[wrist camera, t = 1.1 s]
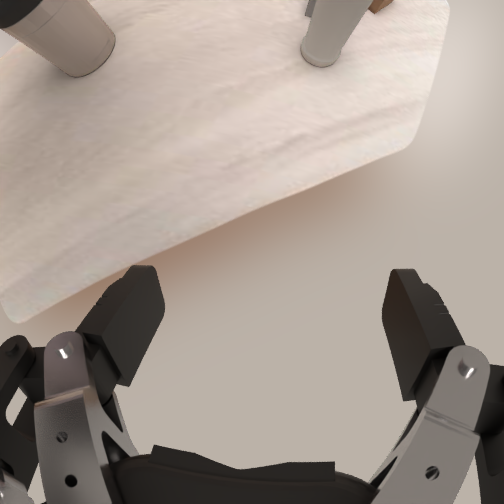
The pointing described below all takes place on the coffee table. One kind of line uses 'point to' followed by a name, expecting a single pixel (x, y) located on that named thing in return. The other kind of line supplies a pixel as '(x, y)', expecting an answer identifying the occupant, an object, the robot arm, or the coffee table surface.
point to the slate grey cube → (310, 8)
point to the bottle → (331, 29)
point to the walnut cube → (378, 5)
